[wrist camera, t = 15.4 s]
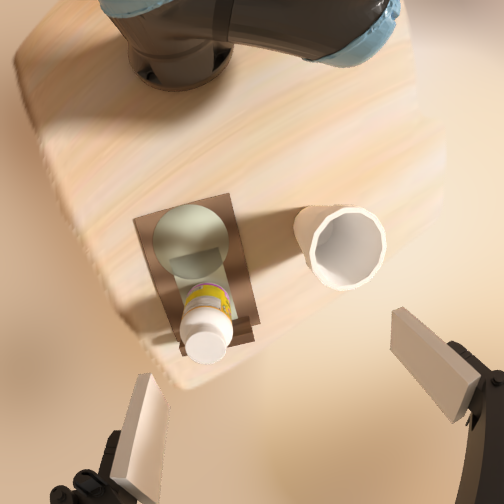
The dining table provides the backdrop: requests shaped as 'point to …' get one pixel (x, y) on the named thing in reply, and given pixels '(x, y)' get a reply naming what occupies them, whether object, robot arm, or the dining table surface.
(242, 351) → the dining table surface
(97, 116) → the dining table surface
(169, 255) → the keyhole board
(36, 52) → the dining table surface
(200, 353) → the supplement bottle
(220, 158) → the dining table surface
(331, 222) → the foam cup
